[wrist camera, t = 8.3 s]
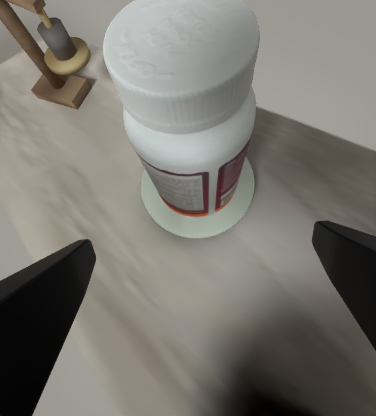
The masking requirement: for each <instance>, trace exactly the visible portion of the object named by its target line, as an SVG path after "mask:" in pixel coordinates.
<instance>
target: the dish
mask: <svg viewBox="0 0 376 416" xmlns="http://www.w3.org/2000/svg"><path fill="white" fill-rule="evenodd" d="M254 187H255V181H254V174H253V170H252V167H251V165H250V163H249V161H248V159H247V158H246V156H245V160H244V163H243V167H242V170H241V174H240V177H239V181H238V184H237V187H236V190H235V193H234V195H233V197H232V199H231V200H230V202H229V203H228V204H227V205H226V206H225V207H224V208H223V209H222V210H220V211H219V212H217V213H215V214H213V215H210V216H207V217H201V218H191V217H186V216H183V215H180V214H178V213H176V212H174V211H173V210H171V209H170V208H169V207H168V206H167V205H166V204H165V203H164V201H163V200H162V198H161V197H160V195H159V193H158V191H157V190H156V188H155V186H154V184H153V182H152V180H151V178H150V177H149V175H148V173H147V171H146V169H144V171H143V175H142V180H141V194H142V199H143V202H144V205H145V207H146V209H147V211H148V212H149V214H150V215H151V217H152V218H153V219H154V220H155V221H156V222H157V224H159V225H160V226H161V227H162V228H163V229H165V230H166V231H168V232H170V233H172V234H174V235H176V236H180V237H183V238H189V239H205V238H210V237H214V236H217V235H220V234H222V233H224V232H226V231H228V230H229V229H231V228H232V227H233V226H235V225H236V224H237V223H238V222H239V221H240V220H241V219H242V217H243V216H244V215H245V213H246V211H247V210H248V208H249V206H250V203H251V201H252V198H253V194H254Z"/></svg>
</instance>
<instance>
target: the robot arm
mask: <svg viewBox="0 0 376 416" xmlns="http://www.w3.org/2000/svg"><path fill="white" fill-rule="evenodd" d="M312 244H313V247H314V249H315V251H316V253H317V255H318V257H319V259H320V261H321V263H322V265H323V267H324V269H325V271H326V273H327V275H328V277H329V279H330V280H331V282H332V283H333V285H334V287H335V288H336V290H337V291H338V293H339V294H340V296H341V298H342V299H343V301H344V302H345V304H346V305H347V307H348V308H349V310H350V311H351V313H352V315H353V316H354V318H355V319H356V321H357V322H358V324H359V325H360V327H361V329H362V330H363V332H364V333H365V335H366V336H367V338H368V339H369V341H370V343H371V344H372V346H373V347H374V349H375V350H376V236H373V235H370V234H367V233H364V232H361V231H358V230H355V229H352V228H348V227H345V226H342V225H339V224H336V223H333V222H330V221H317V222H316V223H315V225H314V230H313V237H312ZM95 262H96V255H95V252H94V249H93V246H92V243H91V241H90V240H89V239H84V240H78V241H76V242H74V243H72V244H70V245H68V246H66V247H64V248H62V249H61V250H59V251H57V252H55V253H53V254H51V255H49V256H47V257H45V258H43V259H41V260H39V261H38V262H36V263H34V264H32V265H30V266H28V267H26V268H24V269H22V270H20V271H18V272H17V273H15V274H13V275H11V276H9V277H7V278H5V279H3V280H1V281H0V416H32V415H33V413H34V410H35V408H36V406H37V403H38V401H39V399H40V397H41V394H42V392H43V390H44V387H45V385H46V383H47V381H48V378H49V376H50V374H51V371H52V369H53V367H54V364H55V362H56V360H57V358H58V355H59V353H60V351H61V349H62V346H63V344H64V342H65V339H66V337H67V335H68V333H69V330H70V328H71V326H72V324H73V321H74V319H75V317H76V314H77V312H78V310H79V308H80V305H81V303H82V301H83V298H84V296H85V293H86V290H87V288H88V284H89V281H90V278H91V275H92V272H93V268H94V265H95Z"/></svg>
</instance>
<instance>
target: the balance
mask: <svg viewBox="0 0 376 416" xmlns="http://www.w3.org/2000/svg"><path fill="white" fill-rule="evenodd" d="M8 2H10V3H12V4H15V5H17V6H19V7H22V8H24V9H27V10H29V11H31V12H34V13H36V14H38V15H39V17H40V18H41V20H42V22H41V23H40V24H39V26H38V28H37V30H38V32H39V34H40V35H41V37H42V38H43V40H44V41H45V43H46V44H47V46H48V47H49V48H48V49H47V51H46V53H45V54H44V53H43V51H42V50H41V48H40V47H39V46H38V44H37V43H36V41H35V40H34V39H33V37H32V36H31V34H30V33H29V32H28V30H27V29H26V28H25V26H24V24H23V23H22V22H21V20H20V19H19V17H18V16H17V15H16V13H15V12H14V10H13V9H12V8H11V7H10V5H9V3H8ZM45 5H46V4H45V2H44V0H0V20H1V21H2V22H3V24H4V25H5V26H6V27H7V29H8V30H9V31H10V33H11V34H12V35H13V37H14V38H15V39H16V40H17V42H18V43H19V44H20V45H21V47H22V48H23V49H24V51H25V52H26V53H27V54H28V56H29V57H30V58H31V60H32V61H33V62H34V63H35V65H36V66H37V67H38V68H39V70H40V71H41V72H42V74H43V75H42V76H41V77H40V79H39V80H38V81H37V83H36V84H35V85H34V87H33V88H32V89H31V91H32V92H33V93H34V94H35V95H36V96H37V97H38V98H40V99H43V100H47V101H50V102H54V103H57V104H61V105H64V106H68V107H71V108H75V109H78V107H79V106H80V104H81V103H82V101H83V100H84V98H85V97H86V95H87V94H88V92H89V90H90V89H91V85H90V83H89V82H88V80H87V79H85V78H81V77H77V76H73V75H69V74H73V73H76V72H78V71H79V70H81V69H82V68H84V67H85V66H86V64H87V63H88V62H89V59H90V55H91V54H90V50H89V48H88V46H87V44H86V43H85V41H83V40H82V39H80V38H77V37H70V36H69V35H68V33H67V31H66V29H65V27H64V26H63V24H62V22H61V20H60V19H58V18H48V16H47V15H46V13H45V11H44V9H43V7H44V6H45Z"/></svg>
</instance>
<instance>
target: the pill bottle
mask: <svg viewBox="0 0 376 416" xmlns="http://www.w3.org/2000/svg"><path fill="white" fill-rule="evenodd" d="M259 33H260V32H259V26H258V22H257V19H256V17H255V14H254V13H253V11H252V10H251V8H250V7H249V6H248V5H247V4H246V3H245V2H244V1H243V0H134V1H132V2H131V3H130V4H128V5H127V6H126V7H124V8H123V9H122V10H121V11H120V12H119V13H118V14H117V15H116V16H115V18H114V19H113V20H112V22H111V23H110V25H109V27H108V29H107V31H106V34H105V37H104V41H103V56H104V60H105V64H106V67H107V69H108V71H109V74H110V76H111V78H112V81H113V83H114V85H115V87H116V89H117V92H118V95H119V97H120V100H121V102H122V104H123V106H124V110H123V118H124V126H125V130H126V133H127V135H128V138H129V140H130V142H131V144H132V146H133V148H134V149H135V151H136V153H137V155H138V156H139V158H140V160H141V162H142V164H143V166H144V167H145V169H146V171H147V173H148V175H149V177H150V178H151V180H152V182H153V184H154V186H155V188H156V190H157V191H158V193H159V195H160V197H161V198H162V200H163V201H164V203H165V204H166V205H167V206H168V207H169V208H170V209H171V210H173V211H174V212H176V213H178V214H180V215H183V216H186V217H191V218H201V217H207V216H210V215H213V214H215V213H217V212H219V211H220V210H222V209H223V208H224V207H225V206H226V205H227V204H228V203H229V202H230V200H231V199H232V197H233V195H234V193H235V190H236V187H237V184H238V181H239V177H240V174H241V170H242V167H243V163H244V160H245V156H246V153H247V149H248V145H249V142H250V139H251V136H252V133H253V129H254V123H255V117H256V101H255V95H254V92H253V89H252V86H251V83H252V79H253V71H254V66H255V62H256V57H257V52H258V47H259V40H260V34H259Z"/></svg>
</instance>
